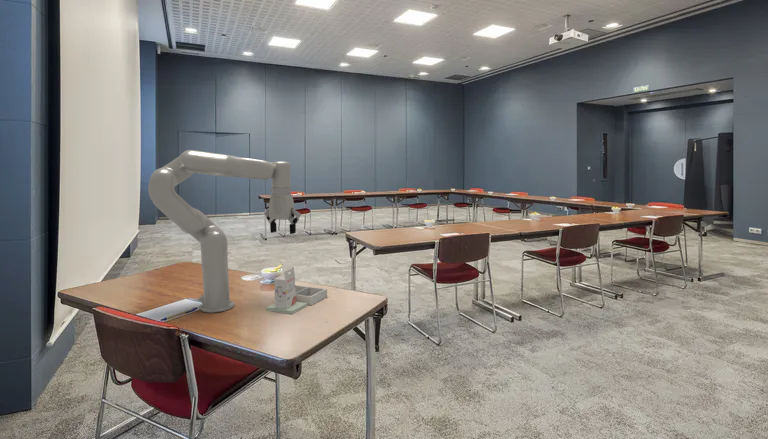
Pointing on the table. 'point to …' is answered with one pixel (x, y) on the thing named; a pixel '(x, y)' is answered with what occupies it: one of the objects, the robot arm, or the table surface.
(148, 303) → the table surface
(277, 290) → the ink cartridge box
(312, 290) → the bin
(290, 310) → the board
